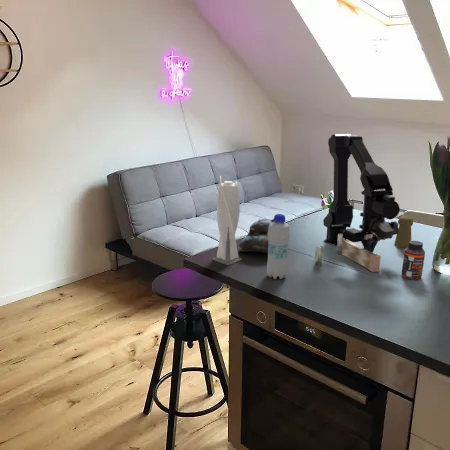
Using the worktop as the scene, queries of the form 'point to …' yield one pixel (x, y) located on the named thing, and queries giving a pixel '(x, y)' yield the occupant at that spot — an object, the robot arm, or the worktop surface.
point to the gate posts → (320, 250)
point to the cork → (404, 232)
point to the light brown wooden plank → (361, 255)
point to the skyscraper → (227, 222)
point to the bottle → (278, 247)
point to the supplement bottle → (413, 261)
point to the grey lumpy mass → (256, 237)
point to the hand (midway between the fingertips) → (368, 256)
